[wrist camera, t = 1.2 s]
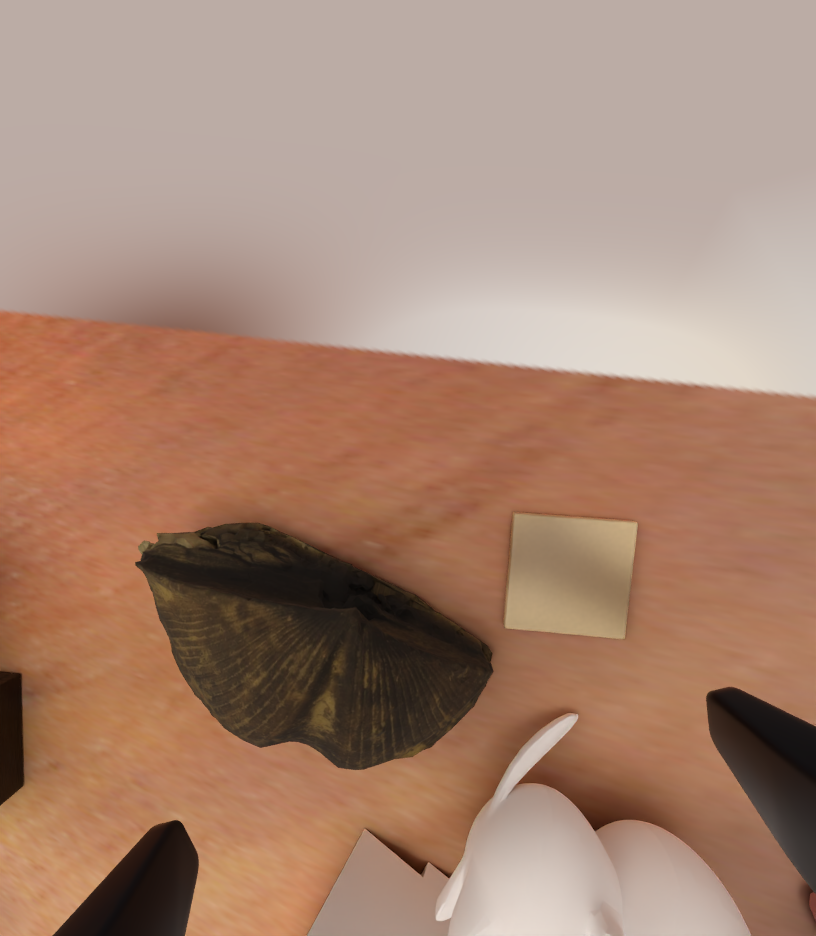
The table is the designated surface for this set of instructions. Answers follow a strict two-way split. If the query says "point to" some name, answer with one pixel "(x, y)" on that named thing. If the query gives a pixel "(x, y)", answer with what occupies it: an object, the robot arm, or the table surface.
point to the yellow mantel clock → (813, 904)
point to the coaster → (569, 574)
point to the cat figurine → (576, 869)
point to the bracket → (381, 896)
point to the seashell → (309, 645)
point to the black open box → (10, 736)
